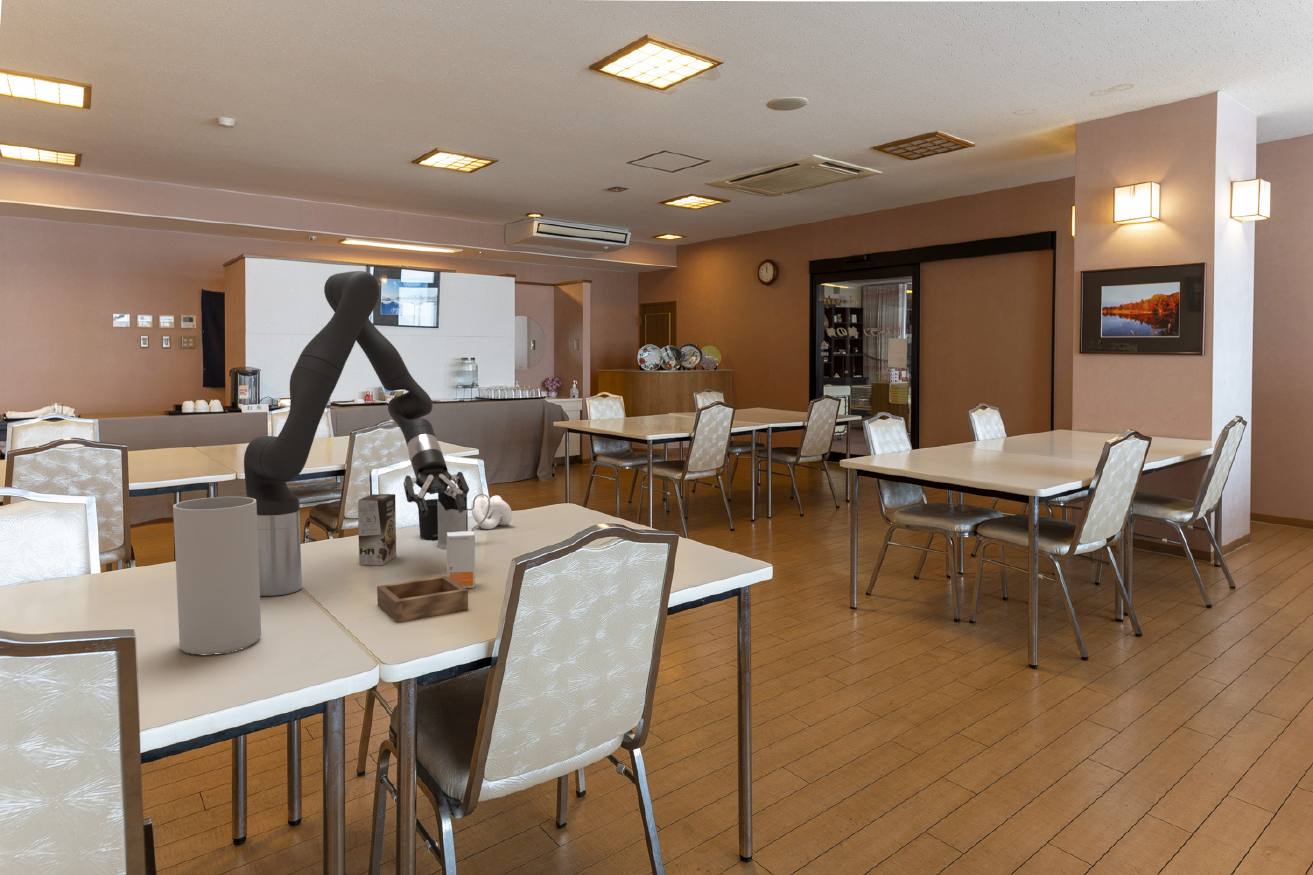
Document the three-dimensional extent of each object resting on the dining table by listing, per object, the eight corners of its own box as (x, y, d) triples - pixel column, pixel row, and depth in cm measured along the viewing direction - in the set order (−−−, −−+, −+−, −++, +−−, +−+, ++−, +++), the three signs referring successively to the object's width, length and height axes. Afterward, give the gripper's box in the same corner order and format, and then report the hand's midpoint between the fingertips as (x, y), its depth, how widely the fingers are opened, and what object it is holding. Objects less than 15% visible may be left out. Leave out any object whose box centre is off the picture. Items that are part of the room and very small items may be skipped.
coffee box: (384, 565, 191) (383, 499, 189) (358, 565, 191) (356, 499, 189) (397, 556, 200) (396, 493, 198) (372, 555, 200) (371, 493, 198)
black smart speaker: (412, 539, 219) (411, 503, 218) (429, 532, 228) (429, 498, 227) (442, 541, 216) (442, 505, 215) (459, 534, 225) (458, 499, 224)
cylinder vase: (273, 631, 144) (269, 496, 142) (240, 657, 132) (234, 510, 130) (204, 631, 144) (198, 496, 142) (164, 657, 132) (156, 509, 129)
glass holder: (435, 542, 215) (435, 488, 214) (488, 539, 219) (488, 486, 218) (436, 549, 207) (436, 493, 205) (491, 546, 211) (491, 491, 210)
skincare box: (447, 589, 172) (446, 535, 170) (446, 584, 176) (446, 531, 174) (475, 588, 173) (475, 534, 172) (474, 582, 177) (474, 530, 176)
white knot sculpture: (517, 523, 241) (517, 494, 240) (505, 532, 229) (505, 501, 229) (482, 522, 243) (482, 493, 242) (468, 530, 231) (467, 500, 230)
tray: (396, 622, 150) (395, 601, 150) (377, 605, 160) (377, 586, 160) (468, 609, 158) (468, 590, 158) (446, 593, 169) (446, 575, 168)
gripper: (400, 449, 183) (417, 505, 175) (459, 446, 191) (478, 499, 183) (393, 469, 188) (410, 525, 179) (451, 465, 196) (469, 518, 188)
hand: (444, 512), depth 181 cm, fingers open, 8 cm apart
